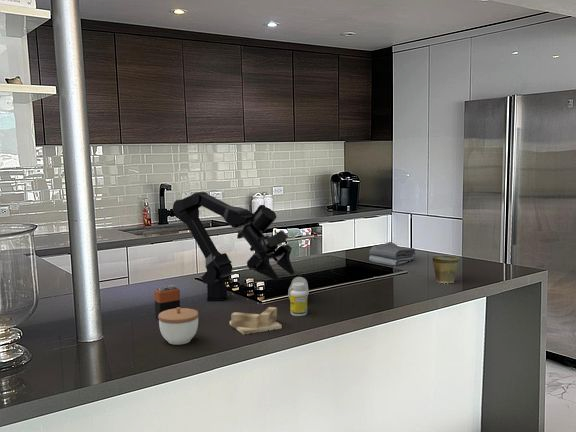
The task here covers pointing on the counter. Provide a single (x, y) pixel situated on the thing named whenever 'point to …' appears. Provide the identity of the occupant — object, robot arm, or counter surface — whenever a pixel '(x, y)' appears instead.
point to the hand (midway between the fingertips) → (285, 276)
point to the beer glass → (302, 280)
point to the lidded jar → (178, 325)
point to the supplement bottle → (298, 299)
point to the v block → (255, 321)
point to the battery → (166, 299)
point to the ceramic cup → (445, 268)
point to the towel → (391, 254)
